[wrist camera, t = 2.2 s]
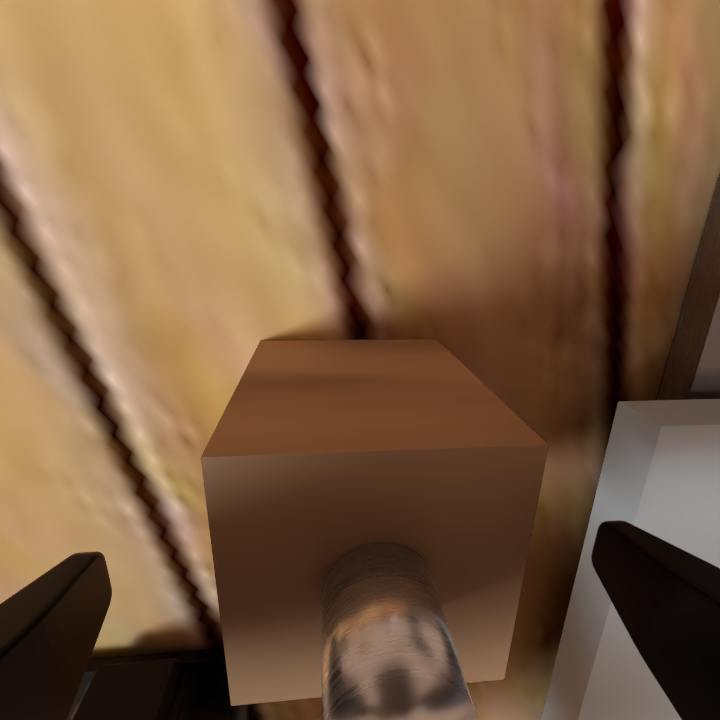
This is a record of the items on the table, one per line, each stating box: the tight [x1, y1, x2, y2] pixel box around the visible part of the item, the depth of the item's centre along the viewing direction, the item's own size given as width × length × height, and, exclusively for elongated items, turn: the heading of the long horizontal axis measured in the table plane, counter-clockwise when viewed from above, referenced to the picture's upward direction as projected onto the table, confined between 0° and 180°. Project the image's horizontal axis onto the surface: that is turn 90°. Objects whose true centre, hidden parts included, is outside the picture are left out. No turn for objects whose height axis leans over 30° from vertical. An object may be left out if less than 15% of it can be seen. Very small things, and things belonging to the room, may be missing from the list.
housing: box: [201, 339, 549, 720], centre depth 8 cm, size 5×5×8 cm
